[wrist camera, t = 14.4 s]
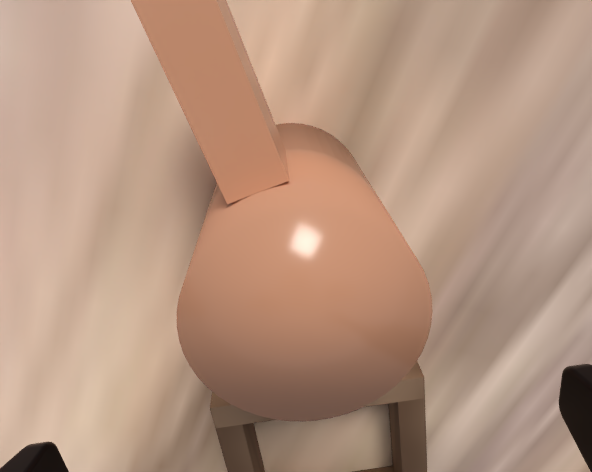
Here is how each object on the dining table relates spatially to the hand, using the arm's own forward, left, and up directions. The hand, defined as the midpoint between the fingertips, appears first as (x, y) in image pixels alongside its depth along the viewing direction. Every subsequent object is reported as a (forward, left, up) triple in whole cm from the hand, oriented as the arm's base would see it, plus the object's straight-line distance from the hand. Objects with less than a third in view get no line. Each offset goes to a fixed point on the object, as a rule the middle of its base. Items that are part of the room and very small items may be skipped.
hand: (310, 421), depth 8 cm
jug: (0, -2, -12) cm, 12 cm away
